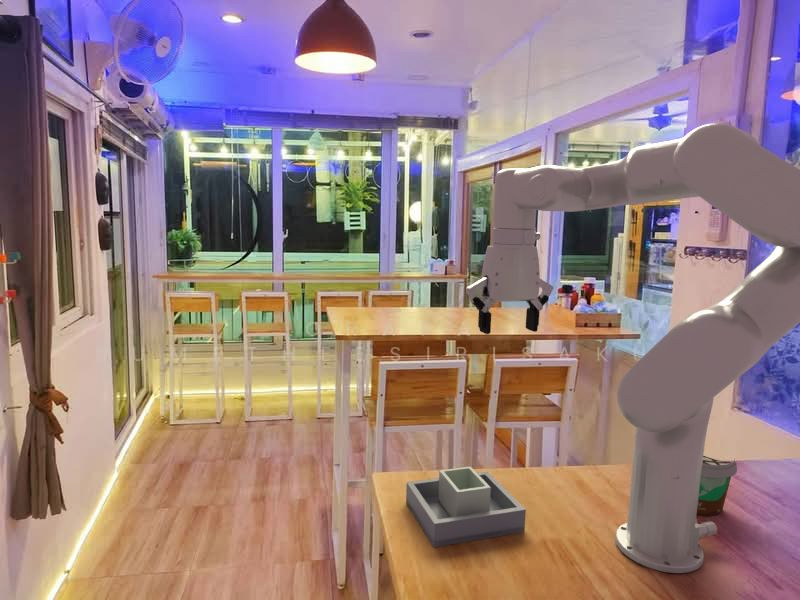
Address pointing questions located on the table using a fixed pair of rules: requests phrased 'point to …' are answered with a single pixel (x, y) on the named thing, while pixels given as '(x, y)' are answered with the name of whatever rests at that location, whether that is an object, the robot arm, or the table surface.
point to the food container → (714, 486)
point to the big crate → (447, 531)
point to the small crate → (463, 492)
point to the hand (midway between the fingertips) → (508, 331)
